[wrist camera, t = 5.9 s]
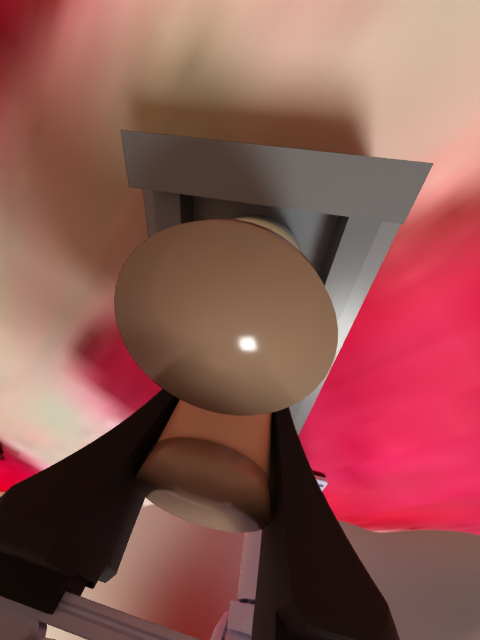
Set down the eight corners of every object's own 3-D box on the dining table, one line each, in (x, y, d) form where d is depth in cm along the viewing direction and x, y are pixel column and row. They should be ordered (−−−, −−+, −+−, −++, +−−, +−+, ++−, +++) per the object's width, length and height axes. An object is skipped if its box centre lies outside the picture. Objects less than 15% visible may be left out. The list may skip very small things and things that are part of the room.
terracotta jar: (266, 399, 14) (254, 543, 8) (200, 383, 15) (143, 507, 9) (284, 346, 12) (287, 498, 6) (203, 327, 12) (125, 450, 6)
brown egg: (289, 314, 12) (299, 433, 5) (207, 299, 12) (133, 392, 6) (316, 220, 9) (389, 246, 3) (211, 205, 9) (87, 201, 3)
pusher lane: (287, 449, 20) (288, 497, 16) (173, 420, 21) (154, 459, 18) (409, 184, 8) (490, 169, 5) (148, 153, 10) (80, 125, 6)
